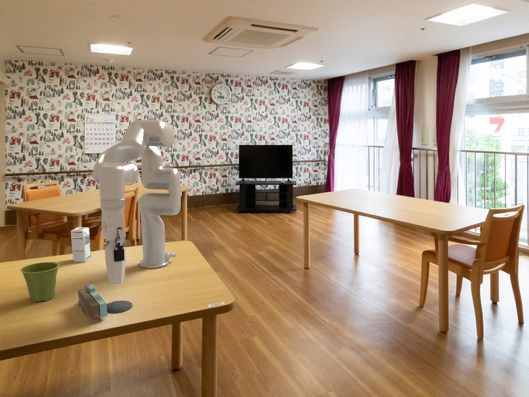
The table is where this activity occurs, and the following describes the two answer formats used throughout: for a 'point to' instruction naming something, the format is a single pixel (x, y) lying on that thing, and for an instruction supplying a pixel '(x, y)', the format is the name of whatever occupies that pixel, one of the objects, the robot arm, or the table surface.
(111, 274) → the white bottle
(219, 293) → the table surface
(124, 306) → the dark grey disc
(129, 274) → the table surface
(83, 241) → the syrup box
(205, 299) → the table surface
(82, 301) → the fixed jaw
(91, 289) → the bar
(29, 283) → the plant pot
